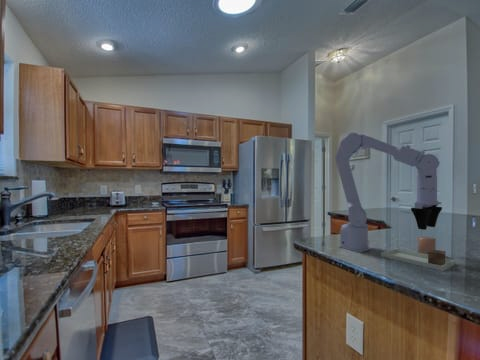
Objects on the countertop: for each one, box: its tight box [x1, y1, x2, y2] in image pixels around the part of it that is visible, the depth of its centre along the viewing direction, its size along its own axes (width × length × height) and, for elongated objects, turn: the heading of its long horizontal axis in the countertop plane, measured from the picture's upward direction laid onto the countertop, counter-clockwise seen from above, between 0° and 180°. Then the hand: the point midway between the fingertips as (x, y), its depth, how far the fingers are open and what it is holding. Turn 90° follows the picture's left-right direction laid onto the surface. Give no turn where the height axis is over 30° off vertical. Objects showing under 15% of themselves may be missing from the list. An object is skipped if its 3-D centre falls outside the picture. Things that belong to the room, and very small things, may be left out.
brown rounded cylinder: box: [417, 236, 437, 255], centre depth 90 cm, size 5×5×6 cm
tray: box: [380, 247, 456, 272], centre depth 83 cm, size 17×10×2 cm, turn 35°
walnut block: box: [428, 249, 446, 266], centre depth 79 cm, size 4×4×4 cm
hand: (426, 227), depth 90 cm, fingers open, 7 cm apart
